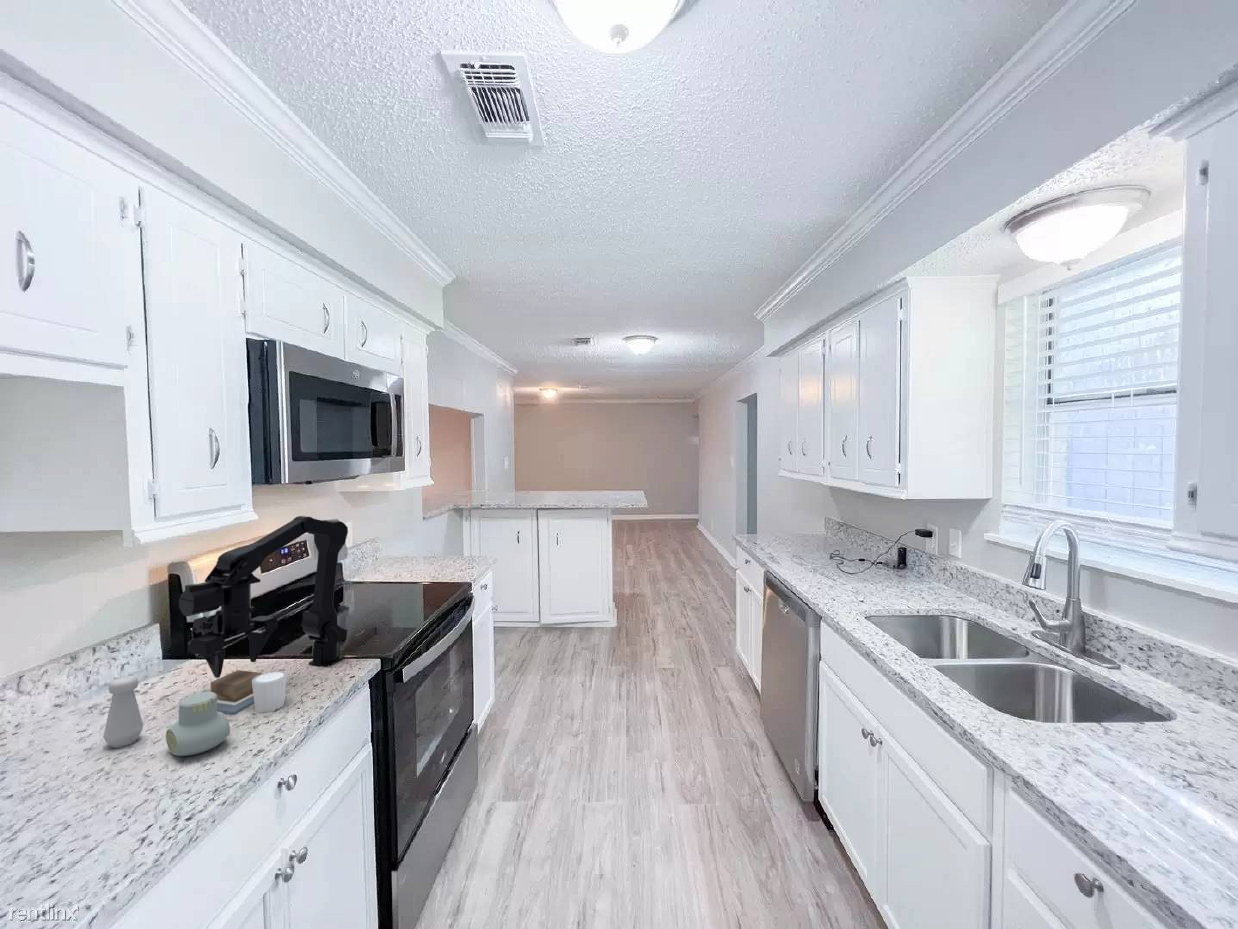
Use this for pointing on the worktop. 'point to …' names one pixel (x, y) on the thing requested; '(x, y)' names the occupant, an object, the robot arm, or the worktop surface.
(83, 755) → the worktop surface
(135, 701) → the salt shaker
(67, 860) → the worktop surface
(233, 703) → the board
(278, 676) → the white cup
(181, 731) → the air freshener
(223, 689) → the walnut block
